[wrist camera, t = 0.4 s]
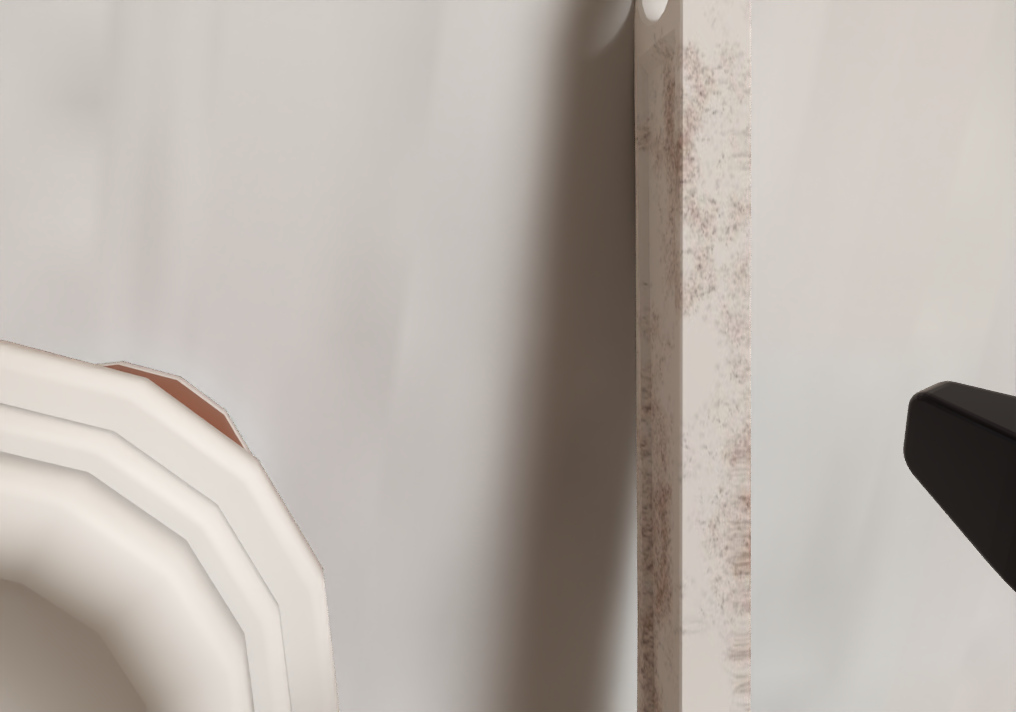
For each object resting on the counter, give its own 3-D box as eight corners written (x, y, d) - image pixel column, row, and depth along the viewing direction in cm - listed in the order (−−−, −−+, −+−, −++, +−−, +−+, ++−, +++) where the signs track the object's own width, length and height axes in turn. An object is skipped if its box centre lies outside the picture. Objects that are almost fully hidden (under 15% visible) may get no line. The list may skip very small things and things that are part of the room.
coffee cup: (335, 319, 22) (383, 394, 11) (301, 697, 23) (313, 1145, 12) (-102, 281, 20) (-622, 321, 9) (-123, 696, 21) (-627, 1239, 10)
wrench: (659, -23, 26) (660, 1087, 26) (595, -29, 26) (595, 1098, 26) (815, -189, 19) (820, 1398, 18) (726, -201, 18) (730, 1421, 18)
